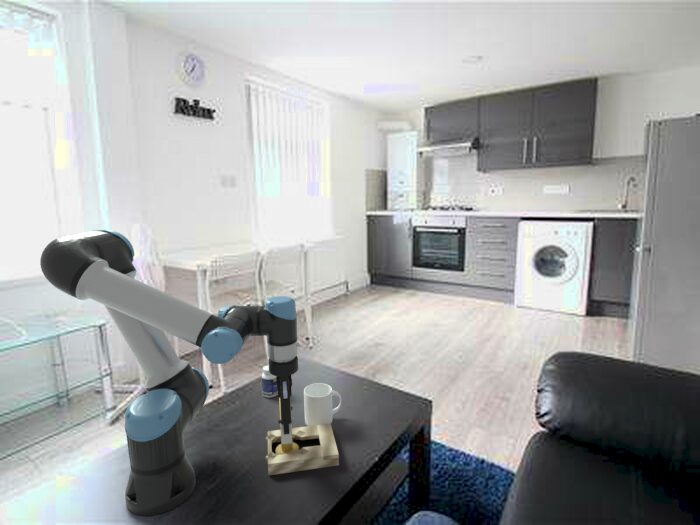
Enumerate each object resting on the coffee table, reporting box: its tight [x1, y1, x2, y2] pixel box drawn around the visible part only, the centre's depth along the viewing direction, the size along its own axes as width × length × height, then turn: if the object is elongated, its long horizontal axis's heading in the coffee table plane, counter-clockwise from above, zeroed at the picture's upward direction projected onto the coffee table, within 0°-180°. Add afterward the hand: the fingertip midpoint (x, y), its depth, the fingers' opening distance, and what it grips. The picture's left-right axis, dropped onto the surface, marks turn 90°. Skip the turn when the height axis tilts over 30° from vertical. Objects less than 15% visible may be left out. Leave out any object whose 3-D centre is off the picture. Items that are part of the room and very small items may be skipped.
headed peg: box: [275, 396, 300, 455], centre depth 107 cm, size 6×6×16 cm
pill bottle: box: [261, 364, 278, 398], centre depth 140 cm, size 6×6×10 cm
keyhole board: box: [265, 423, 340, 476], centre depth 109 cm, size 19×14×3 cm
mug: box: [303, 382, 342, 426], centre depth 124 cm, size 9×12×11 cm
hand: (286, 438), depth 108 cm, fingers closed on headed peg, 3 cm apart
